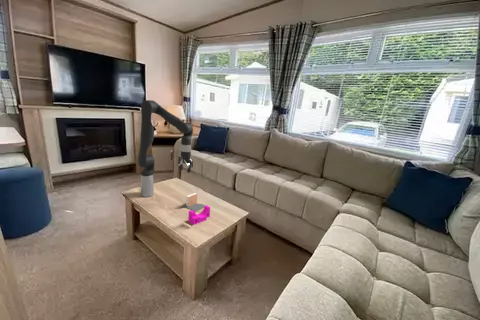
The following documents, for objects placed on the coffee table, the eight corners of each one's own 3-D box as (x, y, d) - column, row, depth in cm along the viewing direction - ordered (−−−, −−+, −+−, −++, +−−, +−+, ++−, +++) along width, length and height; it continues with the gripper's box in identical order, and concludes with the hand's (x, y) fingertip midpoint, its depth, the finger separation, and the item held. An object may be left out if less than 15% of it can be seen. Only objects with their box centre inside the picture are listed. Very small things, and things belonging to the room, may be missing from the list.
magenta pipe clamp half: (193, 225, 140) (193, 214, 138) (188, 221, 144) (188, 211, 143) (211, 218, 151) (212, 208, 149) (206, 214, 155) (206, 205, 153)
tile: (186, 205, 165) (186, 196, 163) (194, 202, 172) (194, 192, 170) (188, 206, 163) (188, 197, 161) (196, 203, 171) (197, 193, 169)
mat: (182, 205, 165) (182, 205, 165) (193, 201, 175) (193, 200, 175) (195, 211, 158) (195, 211, 158) (206, 206, 168) (206, 205, 168)
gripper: (175, 149, 162) (175, 169, 166) (188, 152, 154) (187, 174, 158) (183, 148, 168) (182, 168, 172) (196, 151, 160) (195, 172, 164)
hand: (185, 171), depth 165 cm, fingers open, 8 cm apart
